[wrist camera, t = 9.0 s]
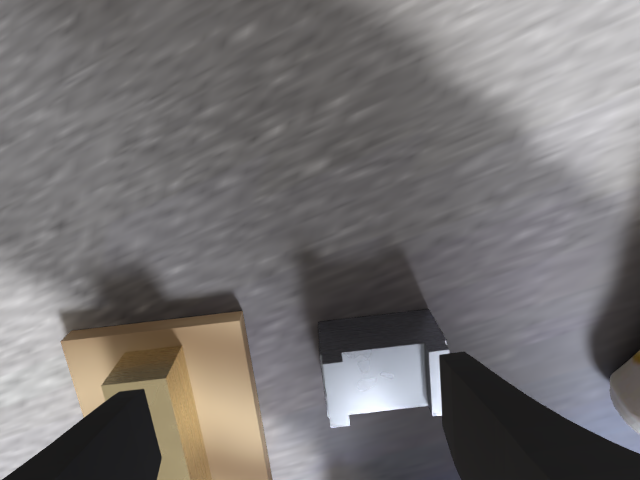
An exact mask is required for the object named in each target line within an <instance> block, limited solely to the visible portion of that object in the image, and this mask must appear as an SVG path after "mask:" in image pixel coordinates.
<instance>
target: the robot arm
mask: <svg viewBox="0 0 640 480" xmlns="http://www.w3.org/2000/svg"><path fill="white" fill-rule="evenodd" d="M439 362H440V383H441V404H442V425H443V429H444V432H445V436H446V439H447V442H448V445H449V449H450V452H451V455H452V458H453V461H454V464H455V466H456V469H457V471H458V473H459V475H460V478H461V480H640V454H639V453H636V452H634V451H631V450H629V449H627V448H624V447H622V446H620V445H618V444H615V443H613V442H611V441H609V440H607V439H605V438H603V437H601V436H599V435H597V434H595V433H593V432H591V431H589V430H587V429H585V428H583V427H581V426H579V425H577V424H575V423H573V422H571V421H569V420H568V419H566V418H564V417H562V416H561V415H559V414H557V413H555V412H554V411H552V410H550V409H549V408H547V407H545V406H544V405H542V404H540V403H539V402H537V401H535V400H534V399H532V398H531V397H529V396H528V395H526V394H524V393H523V392H521V391H520V390H518V389H517V388H515V387H514V386H512V385H511V384H509V383H508V382H507V381H505V380H504V379H502V378H501V377H499V376H498V375H497V374H495V373H494V372H492V371H491V370H490V369H488V368H487V367H485V366H484V365H483V364H481V363H480V362H478V361H477V360H476V359H474V358H473V357H471V356H470V355H468V354H467V353H465V352H458V353H450V354H441V355H439ZM161 460H162V456H161V452H160V449H159V445H158V441H157V437H156V433H155V429H154V425H153V421H152V417H151V413H150V410H149V406H148V402H147V398H146V394H145V390H144V389H137V390H128V391H119V392H118V393H116V394H115V395H113V396H112V397H110V398H109V399H108V400H106V401H105V402H104V403H102V404H101V405H100V406H98V407H97V408H96V409H95V410H93V411H92V412H91V413H89V414H88V415H87V416H86V417H84V418H83V419H82V420H81V421H79V422H78V423H77V424H75V425H74V426H73V427H72V428H70V429H69V430H68V431H67V432H65V433H64V434H63V435H61V436H60V437H59V438H58V439H56V440H55V441H54V442H53V443H51V444H50V445H49V446H47V447H46V448H45V449H43V450H42V451H41V452H39V453H38V454H37V455H35V456H34V457H32V458H31V459H30V460H28V461H27V462H26V463H24V464H23V465H22V466H20V467H19V468H17V469H16V470H15V471H13V472H12V473H11V474H9V475H8V476H7V477H5V478H4V479H2V480H157V477H158V473H159V468H160V464H161Z"/></svg>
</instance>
